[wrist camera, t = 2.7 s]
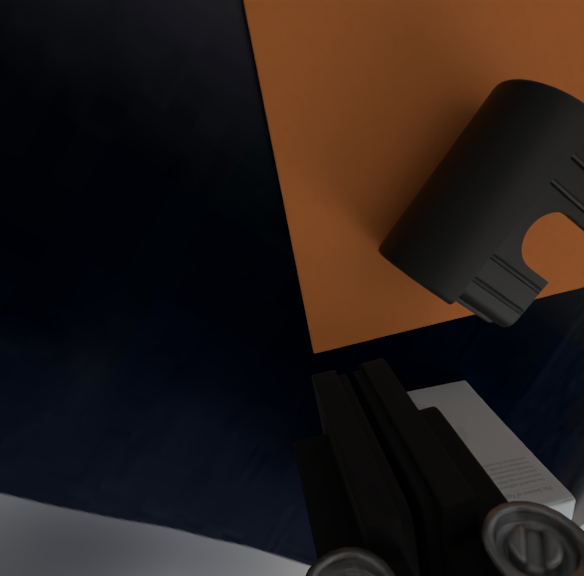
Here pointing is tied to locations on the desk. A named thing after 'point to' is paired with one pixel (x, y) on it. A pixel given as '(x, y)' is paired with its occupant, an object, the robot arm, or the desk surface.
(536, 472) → the cosmetics box
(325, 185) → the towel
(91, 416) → the desk surface
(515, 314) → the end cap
